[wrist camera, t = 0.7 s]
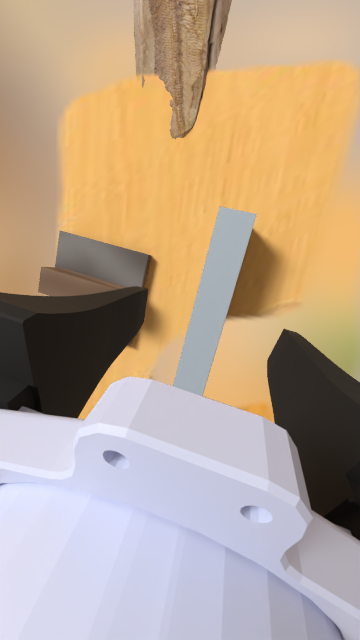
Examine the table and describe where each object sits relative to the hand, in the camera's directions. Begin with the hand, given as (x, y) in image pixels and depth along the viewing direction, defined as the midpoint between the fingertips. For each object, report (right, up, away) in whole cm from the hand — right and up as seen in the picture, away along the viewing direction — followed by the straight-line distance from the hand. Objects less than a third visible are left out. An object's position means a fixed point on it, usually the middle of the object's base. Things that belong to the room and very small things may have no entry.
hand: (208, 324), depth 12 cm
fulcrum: (-12, +4, +18) cm, 22 cm away
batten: (+2, 0, +17) cm, 17 cm away
